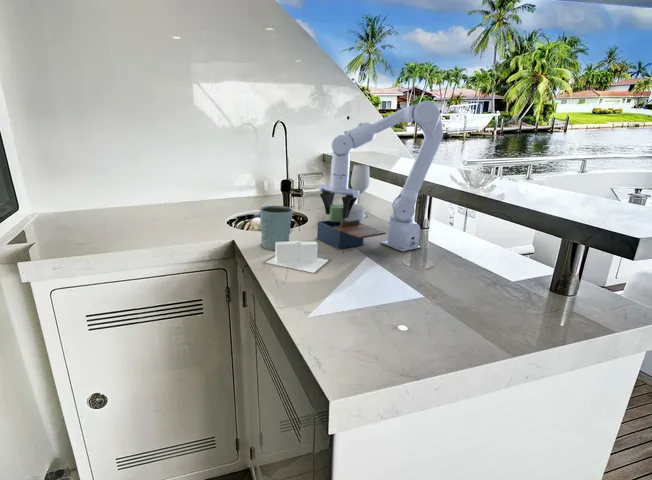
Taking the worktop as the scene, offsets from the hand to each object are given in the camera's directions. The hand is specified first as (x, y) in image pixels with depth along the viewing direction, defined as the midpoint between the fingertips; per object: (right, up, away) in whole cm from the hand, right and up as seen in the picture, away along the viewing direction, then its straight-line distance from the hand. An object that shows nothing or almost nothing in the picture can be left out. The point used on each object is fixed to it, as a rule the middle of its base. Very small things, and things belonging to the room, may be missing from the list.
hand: (337, 215), depth 126 cm
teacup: (+7, -2, +20) cm, 21 cm away
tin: (+1, -9, +1) cm, 9 cm away
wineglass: (+13, +3, +35) cm, 38 cm away
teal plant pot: (-20, -10, -4) cm, 23 cm away
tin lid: (+6, -6, -8) cm, 12 cm away
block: (0, -1, 0) cm, 1 cm away
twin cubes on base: (-13, -15, -17) cm, 26 cm away
